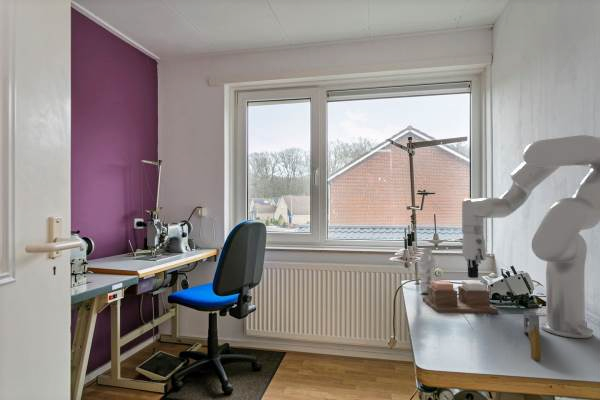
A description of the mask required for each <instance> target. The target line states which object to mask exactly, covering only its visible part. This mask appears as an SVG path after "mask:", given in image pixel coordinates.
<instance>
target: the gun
mask: <svg viewBox="0 0 600 400" xmlns="http://www.w3.org/2000/svg"><path fill="white" fill-rule="evenodd" d="M522 314H523V333H524V334H528V339H529V341H530V343H529V344H530V358H531V359H532V360H533V361H535V362H536V361H537V362H540V361H542V353H541V352H542V349H541V340H540V316H539V314H537V313H536V312H534V311H529V310H524V311H523V313H522Z"/></svg>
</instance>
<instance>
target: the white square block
mask: <svg viewBox="0 0 600 400" xmlns="http://www.w3.org/2000/svg"><path fill="white" fill-rule="evenodd" d="M461 286H462V287H463V288H465V289H467V290H469V291H485V289H486V284H485V283H484V282H481V281H479V280H462V282H461Z"/></svg>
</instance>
